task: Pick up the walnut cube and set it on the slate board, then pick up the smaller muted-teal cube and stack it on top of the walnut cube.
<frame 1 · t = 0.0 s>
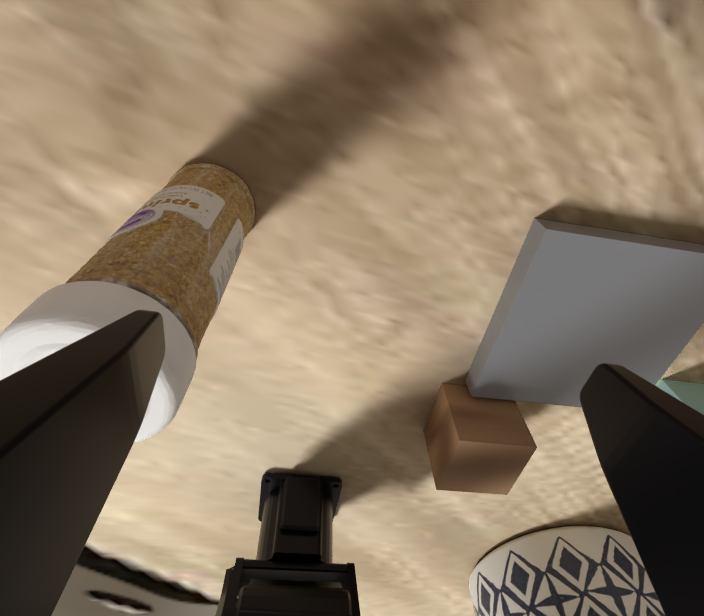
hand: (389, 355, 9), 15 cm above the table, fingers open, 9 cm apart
sprinkles bottle: (213, 204, 22), on the table
planter: (551, 565, 45), on the table
walnut block: (464, 410, 31), on the table
teal block: (669, 400, 31), on the table
slate board: (584, 320, 27), on the table
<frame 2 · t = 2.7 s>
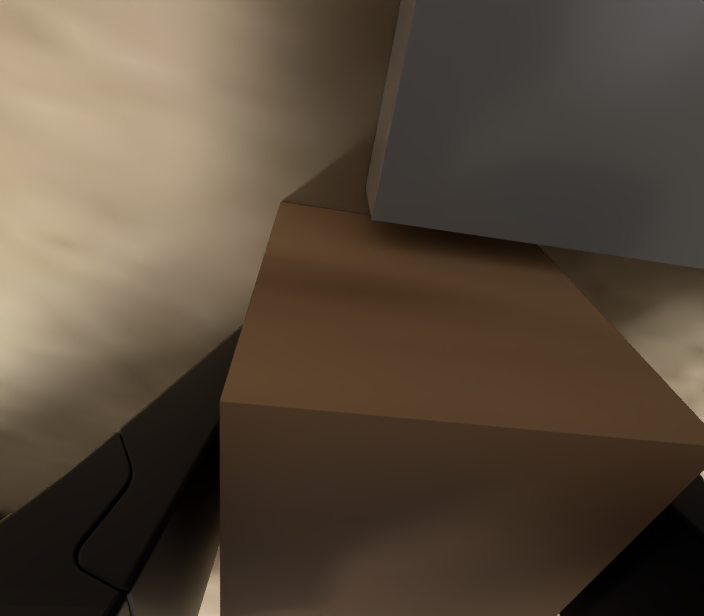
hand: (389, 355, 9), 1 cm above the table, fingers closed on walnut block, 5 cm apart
walnut block: (384, 325, 9), on the table, touching gripper
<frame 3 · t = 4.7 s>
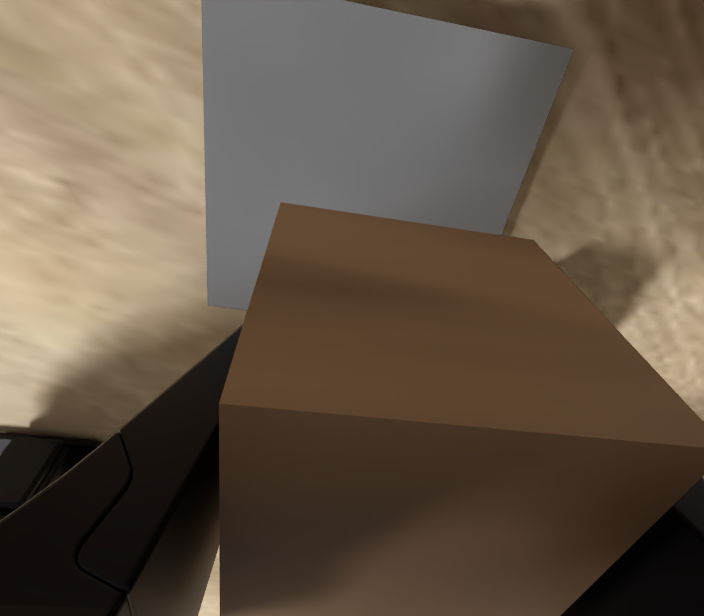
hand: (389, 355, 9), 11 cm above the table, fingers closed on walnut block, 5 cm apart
walnut block: (384, 326, 9), point 10 cm above the table, touching gripper
slate board: (361, 184, 18), on the table
when the fingers open (3 cm above the table, at t = 6.9 s): walnut block stays where it is, resting on slate board.
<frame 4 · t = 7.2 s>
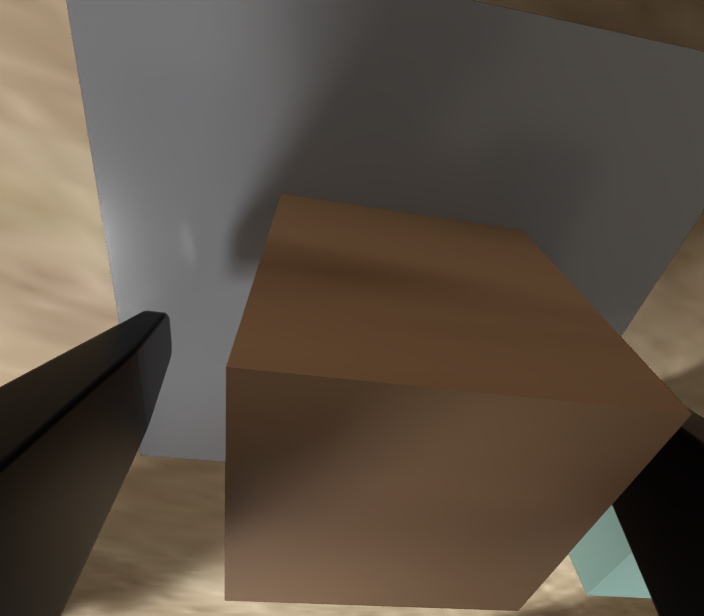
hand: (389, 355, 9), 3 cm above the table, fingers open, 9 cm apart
walnut block: (380, 313, 10), point 1 cm above the table, touching slate board
teal block: (608, 452, 16), on the table
slate board: (377, 280, 11), on the table
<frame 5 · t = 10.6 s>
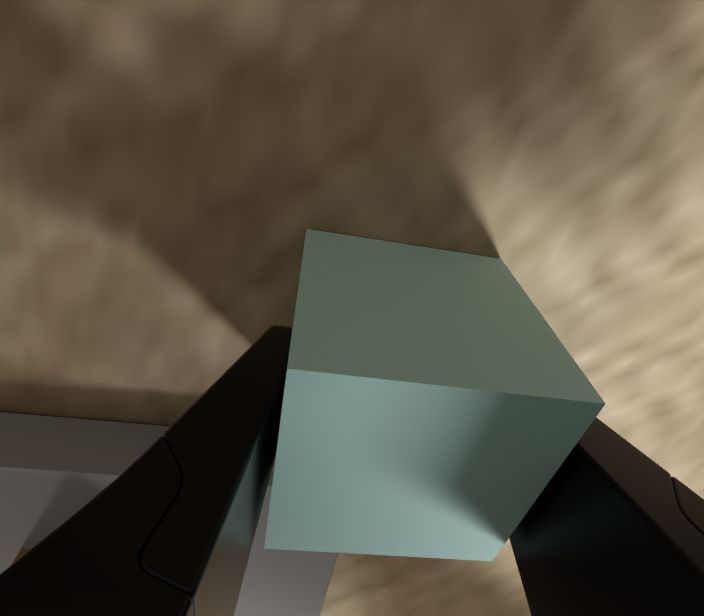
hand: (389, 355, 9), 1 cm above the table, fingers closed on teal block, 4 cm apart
teal block: (384, 324, 9), on the table, touching gripper
slate board: (147, 543, 14), on the table
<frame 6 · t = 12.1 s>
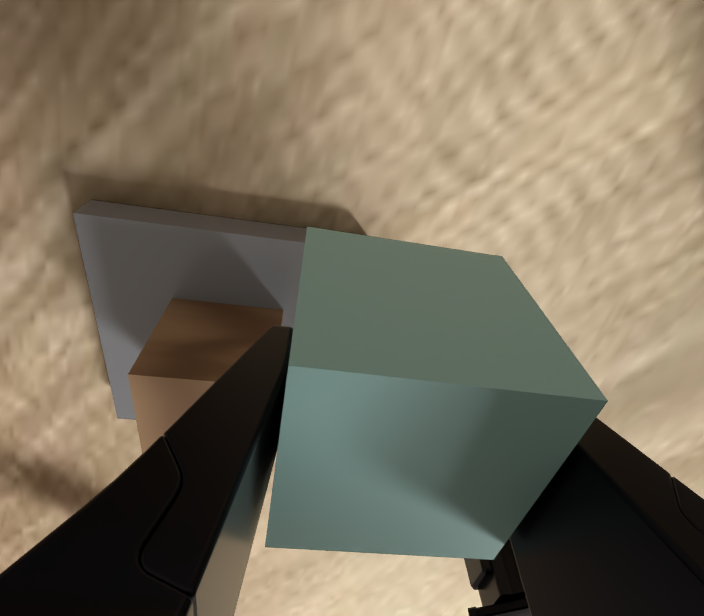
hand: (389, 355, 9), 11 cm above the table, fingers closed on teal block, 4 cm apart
walnut block: (228, 346, 21), point 1 cm above the table, touching slate board
teal block: (385, 322, 9), point 10 cm above the table, touching gripper
slate board: (234, 326, 22), on the table
when the fingers open (8 cm above the table, at t = 13.8 s): teal block stays where it is, resting on walnut block.
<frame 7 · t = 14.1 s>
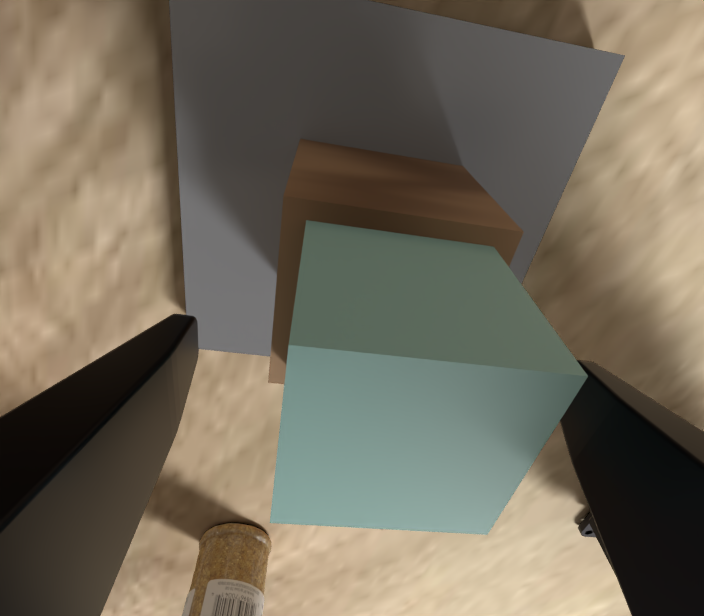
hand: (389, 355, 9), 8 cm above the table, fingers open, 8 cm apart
sprinkles bottle: (238, 535, 27), on the table
walnut block: (367, 229, 14), point 1 cm above the table, touching slate board, teal block
teal block: (383, 312, 10), point 6 cm above the table, touching walnut block
slate board: (364, 211, 15), on the table
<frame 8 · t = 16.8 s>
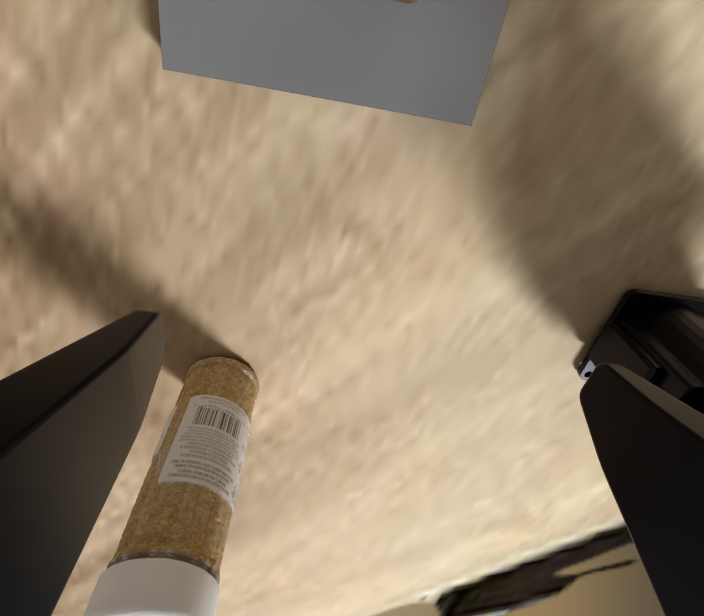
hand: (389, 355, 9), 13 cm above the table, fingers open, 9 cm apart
sprinkles bottle: (225, 379, 26), on the table
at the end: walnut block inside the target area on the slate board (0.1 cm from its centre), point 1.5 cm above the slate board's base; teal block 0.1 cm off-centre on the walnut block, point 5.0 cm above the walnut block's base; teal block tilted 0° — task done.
